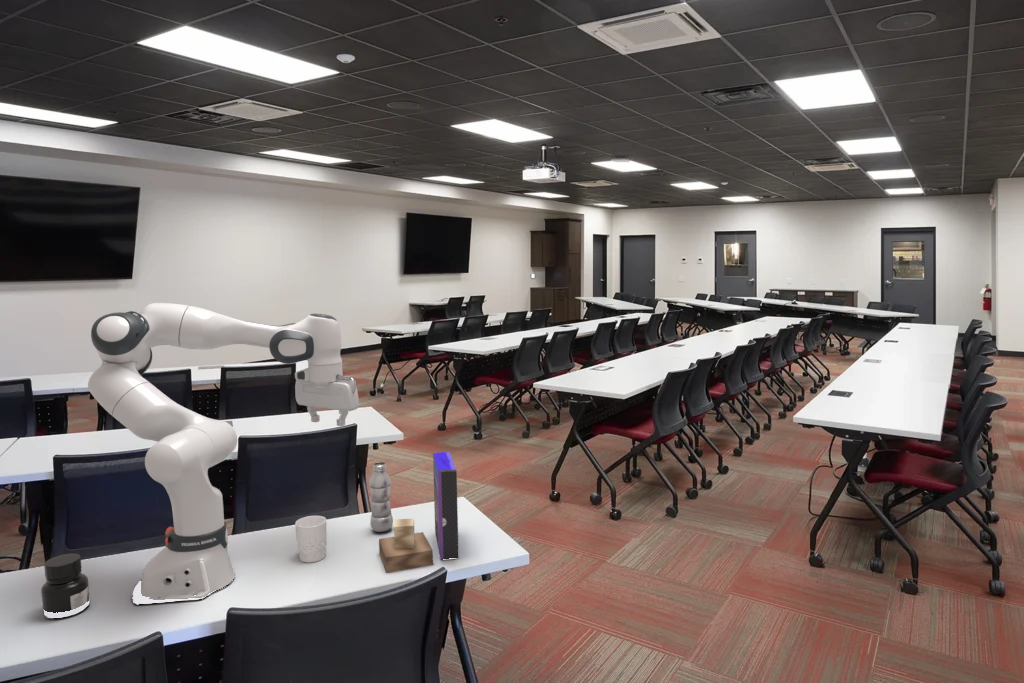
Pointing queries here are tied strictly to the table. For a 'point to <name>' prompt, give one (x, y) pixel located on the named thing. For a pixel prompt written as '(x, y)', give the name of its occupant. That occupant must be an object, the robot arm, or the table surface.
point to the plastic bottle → (380, 498)
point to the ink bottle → (64, 584)
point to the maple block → (404, 533)
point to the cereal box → (445, 505)
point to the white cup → (311, 538)
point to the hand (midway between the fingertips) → (328, 423)
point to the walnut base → (405, 554)
